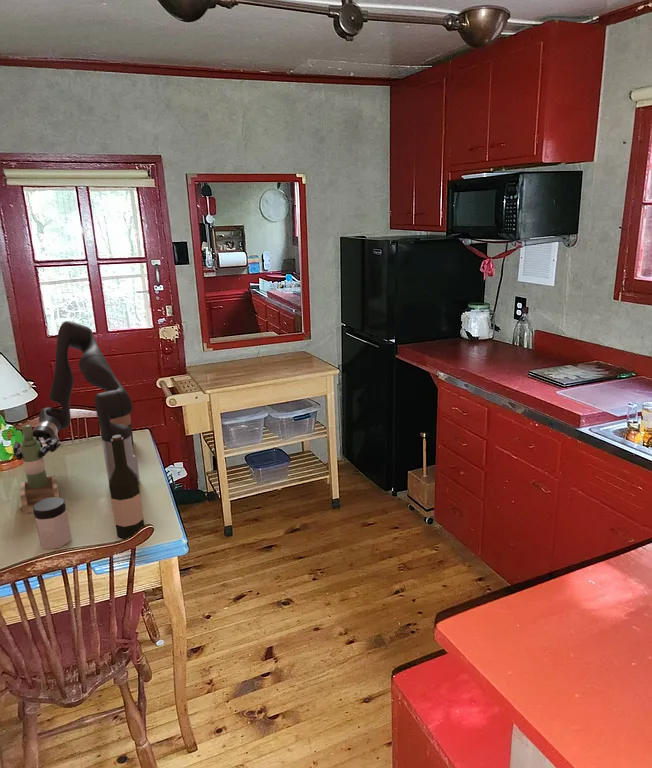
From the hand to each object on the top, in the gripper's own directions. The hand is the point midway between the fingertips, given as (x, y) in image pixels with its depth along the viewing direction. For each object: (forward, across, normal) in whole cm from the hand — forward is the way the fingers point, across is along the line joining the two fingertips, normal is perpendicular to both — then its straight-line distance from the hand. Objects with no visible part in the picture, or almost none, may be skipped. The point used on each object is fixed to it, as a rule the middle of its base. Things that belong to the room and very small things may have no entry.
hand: (29, 456), depth 177 cm
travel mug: (-47, +20, +19) cm, 55 cm away
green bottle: (-3, 0, +11) cm, 11 cm away
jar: (+23, +10, +18) cm, 31 cm away
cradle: (-2, 0, +18) cm, 18 cm away
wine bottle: (+23, +31, +18) cm, 42 cm away
